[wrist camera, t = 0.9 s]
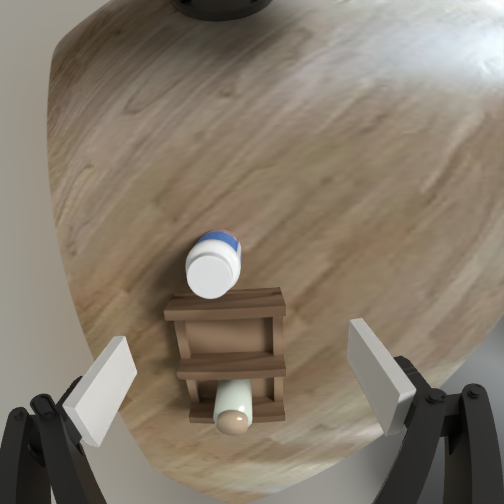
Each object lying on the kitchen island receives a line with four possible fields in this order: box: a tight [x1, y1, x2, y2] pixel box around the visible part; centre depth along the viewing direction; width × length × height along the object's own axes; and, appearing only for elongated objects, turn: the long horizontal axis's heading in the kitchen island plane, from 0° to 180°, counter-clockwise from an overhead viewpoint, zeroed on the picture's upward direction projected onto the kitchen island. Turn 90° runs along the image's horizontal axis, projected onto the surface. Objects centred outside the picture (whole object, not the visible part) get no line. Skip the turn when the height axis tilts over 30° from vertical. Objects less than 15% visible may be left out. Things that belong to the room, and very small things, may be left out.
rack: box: [164, 287, 286, 424], centre depth 34 cm, size 18×13×6 cm
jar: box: [213, 379, 252, 435], centre depth 32 cm, size 5×5×9 cm
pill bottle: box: [185, 229, 241, 299], centre depth 29 cm, size 6×5×10 cm
